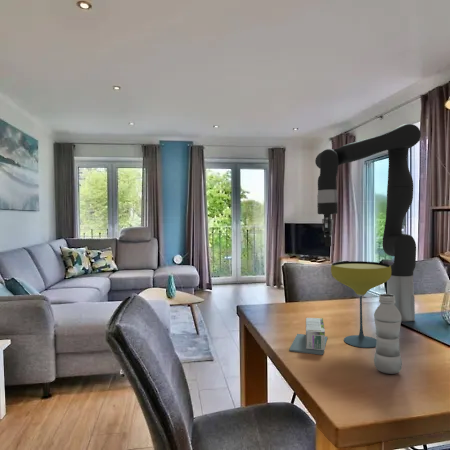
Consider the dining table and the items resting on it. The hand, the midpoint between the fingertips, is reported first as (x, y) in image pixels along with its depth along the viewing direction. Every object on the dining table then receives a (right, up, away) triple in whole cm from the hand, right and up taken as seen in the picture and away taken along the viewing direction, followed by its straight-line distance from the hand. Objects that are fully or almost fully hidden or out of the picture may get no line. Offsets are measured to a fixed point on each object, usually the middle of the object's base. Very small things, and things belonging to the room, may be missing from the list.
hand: (328, 246), depth 136 cm
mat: (-13, -30, -24) cm, 41 cm away
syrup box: (-10, -26, -16) cm, 32 cm away
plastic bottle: (+2, -30, -45) cm, 54 cm away
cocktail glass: (+4, -30, -23) cm, 38 cm away
